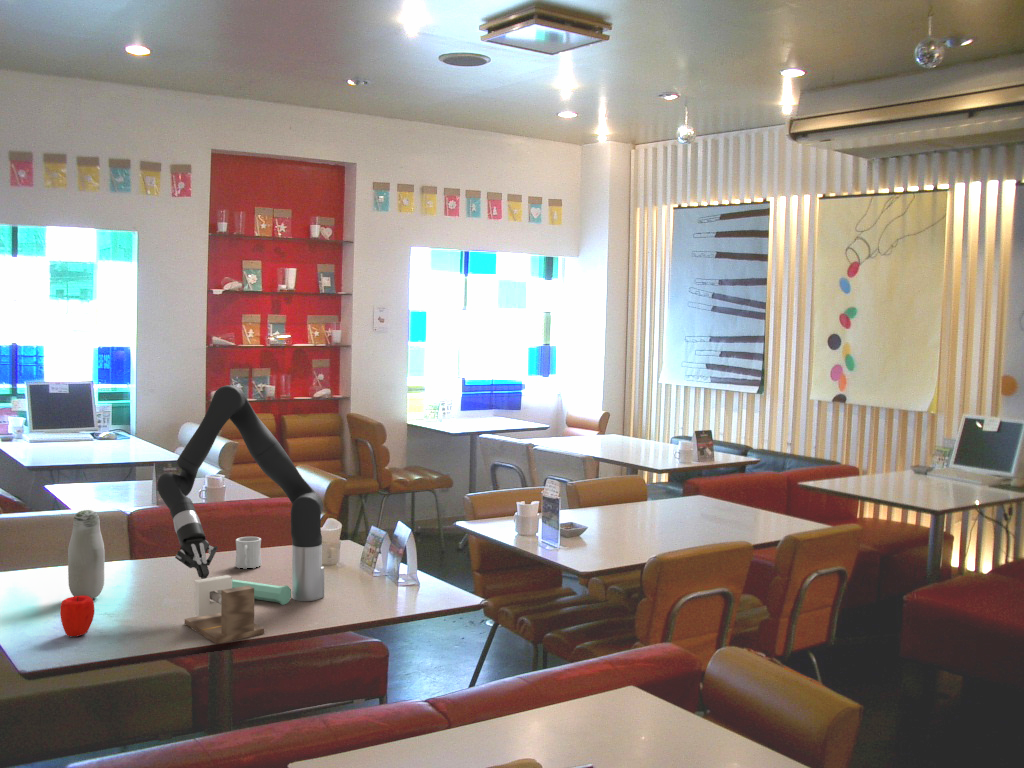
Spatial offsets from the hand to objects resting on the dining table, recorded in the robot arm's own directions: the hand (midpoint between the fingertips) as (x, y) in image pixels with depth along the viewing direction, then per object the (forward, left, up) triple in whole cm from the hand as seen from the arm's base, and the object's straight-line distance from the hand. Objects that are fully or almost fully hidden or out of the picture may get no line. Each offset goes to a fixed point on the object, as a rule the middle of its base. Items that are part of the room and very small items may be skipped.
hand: (205, 577), depth 284 cm
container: (-23, -12, -10) cm, 28 cm away
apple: (+34, -6, -12) cm, 37 cm away
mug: (-36, -48, -12) cm, 61 cm away
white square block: (0, +6, -9) cm, 11 cm away
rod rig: (0, +13, -12) cm, 18 cm away
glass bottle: (+21, -41, -12) cm, 48 cm away
